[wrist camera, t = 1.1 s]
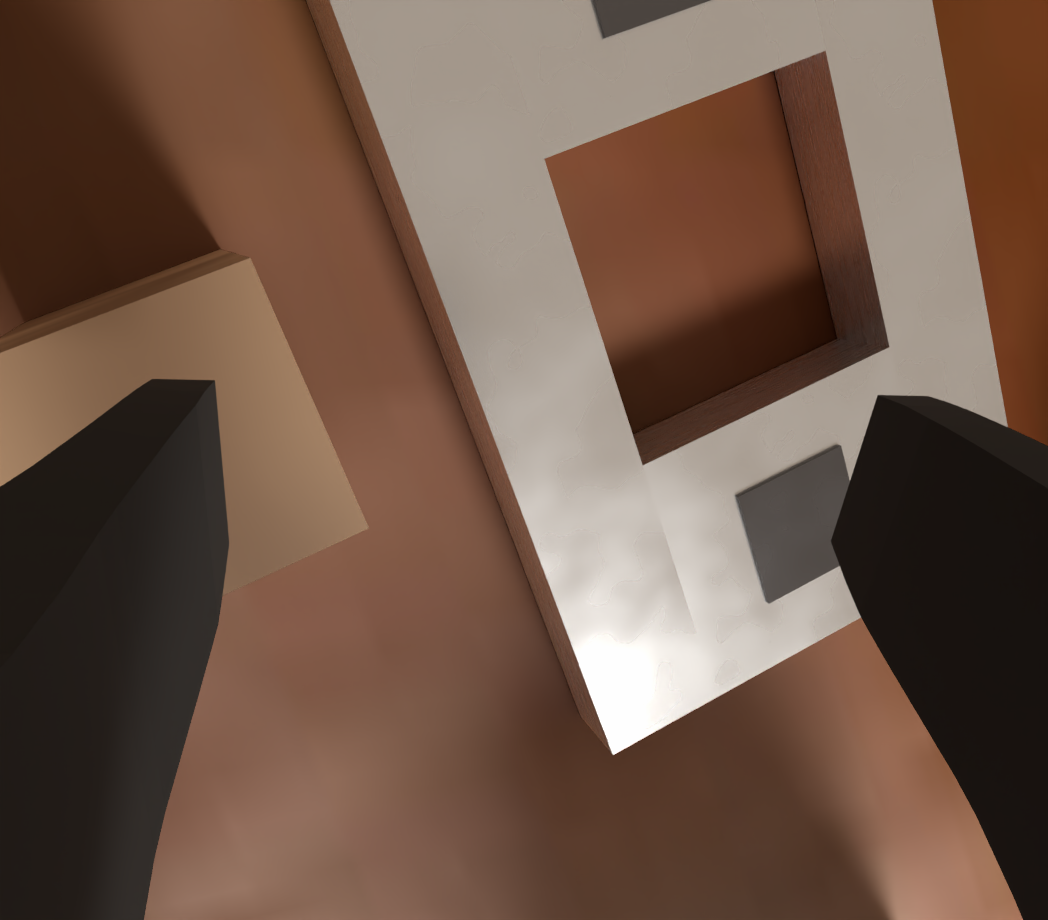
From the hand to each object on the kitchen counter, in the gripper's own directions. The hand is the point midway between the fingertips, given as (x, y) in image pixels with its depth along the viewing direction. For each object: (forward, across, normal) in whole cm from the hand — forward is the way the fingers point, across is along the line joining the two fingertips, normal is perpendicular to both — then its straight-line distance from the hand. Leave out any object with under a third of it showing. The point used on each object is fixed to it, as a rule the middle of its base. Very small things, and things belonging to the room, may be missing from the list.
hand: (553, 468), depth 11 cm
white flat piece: (+13, -6, +2) cm, 14 cm away
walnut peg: (+10, +6, +4) cm, 12 cm away
